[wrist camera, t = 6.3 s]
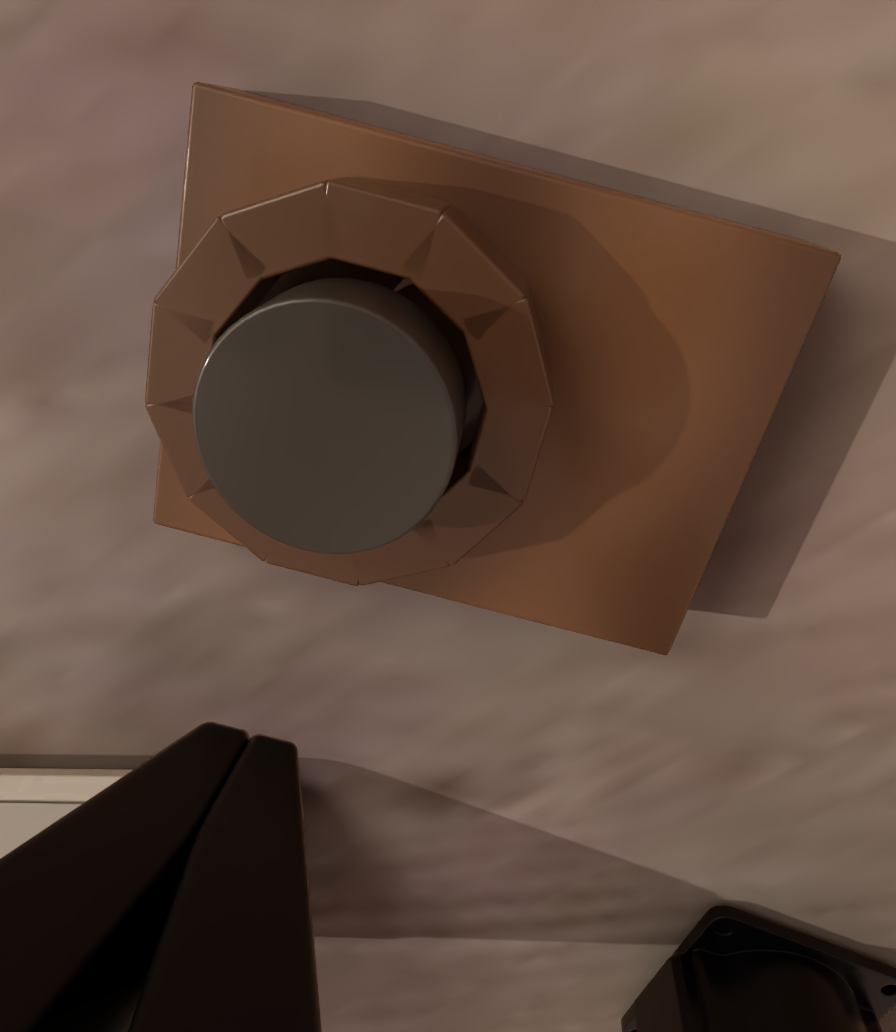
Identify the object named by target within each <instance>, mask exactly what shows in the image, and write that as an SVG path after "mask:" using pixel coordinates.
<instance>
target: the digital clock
mask: <svg viewBox="0 0 896 1032" xmlns="http://www.w3.org/2000/svg"><path fill="white" fill-rule="evenodd" d="M131 771H132V770H122V769H39V768H0V858H2V857H3V856H5V855H6V854H8V853H9V852H11V851H12V850H14V849H15V848H17V847H18V846H20V845H21V844H23V843H24V842H26V841H27V840H29V839H30V838H32V837H33V836H35V835H36V834H38V833H39V832H41V831H42V830H44V829H45V828H47V827H48V826H50V825H51V824H53V823H54V822H56V821H57V820H59V819H60V818H62V817H63V816H65V815H66V814H68V813H69V812H71V811H72V810H74V809H75V808H77V807H78V806H80V805H81V804H83V803H84V802H86V801H87V800H89V799H90V798H92V797H93V796H95V795H96V794H98V793H99V792H101V791H102V790H104V789H105V788H107V787H108V786H110V785H111V784H113V783H114V782H116V781H117V780H119V779H120V778H122V777H123V776H125V775H126V774H128V773H129V772H131ZM302 808H303V804H302ZM303 816H304V812H303Z"/></svg>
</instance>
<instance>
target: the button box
mask: <svg viewBox="0 0 896 1032" xmlns="http://www.w3.org/2000/svg"><path fill="white" fill-rule="evenodd" d="M840 258H841V255H840V254H838V253H837V252H834V251H831V250H828V249H826V248H823V247H820V246H817V245H814V244H812V243H809V242H806V241H803V240H799V239H796V238H792V237H788V236H785V235H781V234H777V233H773V232H770V231H766V230H762V229H758V228H755V227H751V226H747V225H743V224H740V223H736V222H732V221H728V220H725V219H721V218H717V217H713V216H710V215H706V214H702V213H698V212H695V211H691V210H687V209H683V208H680V207H676V206H672V205H668V204H665V203H661V202H657V201H653V200H650V199H646V198H642V197H638V196H635V195H631V194H627V193H623V192H620V191H616V190H612V189H609V188H605V187H601V186H597V185H594V184H590V183H586V182H582V181H579V180H575V179H571V178H567V177H564V176H560V175H556V174H552V173H549V172H545V171H541V170H537V169H534V168H530V167H526V166H522V165H519V164H515V163H511V162H507V161H504V160H500V159H496V158H492V157H489V156H485V155H481V154H477V153H474V152H470V151H466V150H462V149H459V148H455V147H451V146H448V145H444V144H440V143H436V142H433V141H429V140H425V139H421V138H418V137H414V136H410V135H406V134H403V133H399V132H395V131H391V130H388V129H384V128H380V127H376V126H373V125H369V124H365V123H361V122H358V121H354V120H350V119H346V118H343V117H339V116H335V115H331V114H328V113H324V112H320V111H316V110H313V109H309V108H305V107H301V106H298V105H294V104H290V103H286V102H283V101H279V100H275V99H272V98H268V97H264V96H260V95H257V94H253V93H249V92H245V91H242V90H238V89H233V88H228V87H222V86H217V85H211V84H206V83H200V82H196V83H194V84H193V86H192V96H191V107H190V118H189V129H188V140H187V151H186V162H185V173H184V185H183V196H182V207H181V218H180V229H179V240H178V251H177V262H176V270H175V272H174V273H173V274H172V276H171V277H170V278H169V280H168V281H167V282H166V283H165V285H164V286H163V287H162V289H161V290H160V291H159V293H158V294H157V295H156V297H155V299H154V303H153V309H152V321H151V334H150V346H149V359H148V371H147V384H146V396H145V402H146V409H147V411H148V413H149V416H150V418H151V420H152V422H153V424H154V427H155V429H156V431H157V433H158V435H159V438H160V450H159V461H158V472H157V483H156V494H155V505H154V516H153V521H154V523H155V524H159V525H163V526H167V527H170V528H174V529H178V530H182V531H186V532H190V533H194V534H198V535H201V536H205V537H209V538H213V539H217V540H221V541H225V542H229V543H232V544H236V545H240V546H244V547H246V548H248V549H249V550H250V551H251V552H252V553H254V554H255V555H256V556H257V557H258V558H260V559H261V560H262V561H265V560H266V562H267V563H269V564H273V565H277V566H281V567H285V568H289V569H292V570H296V571H300V572H304V573H308V574H312V575H316V576H320V577H323V578H327V579H331V580H335V581H339V582H343V583H347V584H351V585H355V586H358V585H359V584H360V585H366V584H371V583H376V582H384V583H387V584H391V585H395V586H399V587H403V588H407V589H411V590H415V591H418V592H422V593H426V594H430V595H434V596H438V597H442V598H446V599H450V600H453V601H457V602H461V603H465V604H469V605H473V606H477V607H481V608H484V609H488V610H492V611H496V612H500V613H504V614H508V615H512V616H515V617H519V618H523V619H527V620H531V621H535V622H539V623H543V624H546V625H550V626H554V627H558V628H562V629H566V630H570V631H574V632H577V633H581V634H585V635H589V636H593V637H597V638H601V639H605V640H608V641H612V642H616V643H620V644H624V645H628V646H632V647H636V648H639V649H643V650H647V651H651V652H655V653H659V654H663V655H667V654H668V653H669V651H670V649H671V647H672V644H673V642H674V640H675V637H676V635H677V633H678V631H679V628H680V626H681V624H682V621H683V619H684V617H685V614H686V612H687V610H688V608H689V605H690V603H691V601H692V598H693V596H694V594H695V592H696V589H697V587H698V585H699V582H700V580H701V578H702V576H703V573H704V571H705V569H706V566H707V564H708V562H709V559H710V557H711V555H712V553H713V550H714V548H715V546H716V543H717V541H718V539H719V537H720V534H721V532H722V530H723V527H724V525H725V523H726V521H727V518H728V516H729V514H730V511H731V509H732V507H733V504H734V502H735V500H736V498H737V495H738V493H739V491H740V488H741V486H742V484H743V482H744V479H745V477H746V475H747V472H748V470H749V468H750V466H751V463H752V461H753V459H754V456H755V454H756V452H757V449H758V447H759V445H760V443H761V440H762V438H763V436H764V433H765V431H766V429H767V427H768V424H769V422H770V420H771V417H772V415H773V413H774V411H775V408H776V406H777V404H778V401H779V399H780V397H781V394H782V392H783V390H784V388H785V385H786V383H787V381H788V378H789V376H790V374H791V372H792V369H793V367H794V365H795V362H796V360H797V358H798V356H799V353H800V351H801V349H802V346H803V344H804V342H805V339H806V337H807V335H808V333H809V330H810V328H811V326H812V323H813V321H814V319H815V317H816V314H817V312H818V310H819V307H820V305H821V303H822V301H823V298H824V296H825V294H826V291H827V289H828V287H829V284H830V282H831V280H832V278H833V275H834V273H835V271H836V268H837V266H838V264H839V262H840ZM326 278H354V279H359V280H364V281H370V282H373V283H376V284H379V285H382V286H385V287H387V288H389V289H391V290H393V291H395V292H398V293H400V294H402V295H403V296H405V297H406V298H408V299H409V300H411V301H412V302H414V303H415V304H416V305H418V306H419V307H420V308H421V309H422V310H423V311H425V312H426V313H427V314H428V315H429V316H430V317H431V318H432V319H433V320H434V322H435V323H436V324H437V325H438V326H439V327H440V329H441V330H442V331H443V333H444V334H445V336H446V337H447V339H448V340H449V342H450V344H451V346H452V348H453V350H454V352H455V353H456V355H457V358H458V361H459V364H460V366H461V369H462V373H463V378H464V382H465V388H466V400H467V403H466V418H465V423H464V428H463V433H462V437H461V442H460V446H459V450H458V454H457V458H456V463H455V467H454V470H453V473H452V476H451V479H450V482H449V484H448V486H447V488H446V490H445V492H444V494H443V496H442V498H441V499H440V501H439V502H438V504H437V505H436V506H435V508H434V509H433V511H432V512H431V513H430V514H429V515H428V516H427V517H426V518H425V519H424V520H423V521H422V522H421V523H420V524H419V525H418V526H416V527H415V528H414V529H413V530H411V531H410V532H409V533H407V534H405V535H404V536H402V537H400V538H399V539H397V540H395V541H393V542H390V543H388V544H386V545H384V546H381V547H378V548H374V549H371V550H367V551H363V552H356V553H350V554H326V553H316V552H311V551H306V550H301V549H298V548H295V547H292V546H289V545H286V544H283V543H281V542H279V541H277V540H275V539H272V538H270V537H269V536H267V535H265V534H264V533H262V532H260V531H258V530H257V529H255V528H254V527H253V526H251V525H250V524H249V523H247V522H246V521H245V520H243V519H242V518H241V517H240V516H239V515H238V514H237V513H236V512H235V511H234V510H233V509H232V508H231V507H230V506H229V505H228V504H227V503H226V501H225V500H224V499H223V498H222V497H221V496H220V494H219V493H218V491H217V490H216V488H215V487H214V485H213V484H212V482H211V481H210V479H209V477H208V475H207V473H206V471H205V469H204V467H203V464H202V462H201V459H200V456H199V454H198V451H197V447H196V442H195V438H194V433H193V422H192V401H193V394H194V389H195V383H196V380H197V377H198V374H199V371H200V368H201V366H202V364H203V362H204V360H205V358H206V356H207V354H208V352H209V351H210V349H211V348H212V346H213V345H214V344H215V342H216V341H217V339H218V338H219V337H220V336H221V335H222V334H223V333H224V332H225V331H226V330H227V329H228V328H229V327H230V326H231V325H232V324H234V323H235V322H236V321H238V320H239V319H240V318H241V317H243V316H244V315H246V314H248V313H249V312H251V311H253V310H254V309H256V308H258V307H259V306H261V305H263V304H264V303H266V302H268V301H269V300H271V299H273V298H274V297H276V296H278V295H279V294H281V293H283V292H285V291H286V290H288V289H290V288H292V287H295V286H298V285H300V284H303V283H305V282H310V281H314V280H319V279H326Z"/></svg>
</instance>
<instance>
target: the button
mask: <svg viewBox="0 0 896 1032" xmlns="http://www.w3.org/2000/svg"><path fill="white" fill-rule="evenodd" d="M466 403H467V400H466V388H465V382H464V378H463V373H462V369H461V366H460V364H459V361H458V358H457V355H456V353H455V352H454V350H453V348H452V346H451V344H450V342H449V340H448V339H447V337H446V336H445V334H444V333H443V331H442V330H441V329H440V327H439V326H438V325H437V324H436V323H435V322H434V320H433V319H432V318H431V317H430V316H429V315H428V314H427V313H426V312H425V311H423V310H422V309H421V308H420V307H419V306H418V305H416V304H415V303H414V302H412V301H411V300H409V299H408V298H406V297H405V296H403V295H402V294H400V293H398V292H395V291H393V290H391V289H389V288H387V287H385V286H382V285H379V284H376V283H373V282H370V281H364V280H359V279H354V278H326V279H319V280H314V281H310V282H305V283H303V284H300V285H298V286H295V287H292V288H290V289H288V290H286V291H285V292H283V293H281V294H279V295H278V296H276V297H274V298H273V299H271V300H269V301H268V302H266V303H264V304H263V305H261V306H259V307H258V308H256V309H254V310H253V311H251V312H249V313H248V314H246V315H244V316H243V317H241V318H240V319H239V320H238V321H236V322H235V323H234V324H232V325H231V326H230V327H229V328H228V329H227V330H226V331H225V332H224V333H223V334H222V335H221V336H220V337H219V338H218V339H217V341H216V342H215V344H214V345H213V346H212V348H211V349H210V351H209V352H208V354H207V356H206V358H205V360H204V362H203V364H202V366H201V368H200V371H199V374H198V377H197V380H196V383H195V389H194V394H193V401H192V422H193V433H194V438H195V442H196V447H197V451H198V454H199V456H200V459H201V462H202V464H203V467H204V469H205V471H206V473H207V475H208V477H209V479H210V481H211V482H212V484H213V485H214V487H215V488H216V490H217V491H218V493H219V494H220V496H221V497H222V498H223V499H224V500H225V501H226V503H227V504H228V505H229V506H230V507H231V508H232V509H233V510H234V511H235V512H236V513H237V514H238V515H239V516H240V517H241V518H242V519H243V520H245V521H246V522H247V523H249V524H250V525H251V526H253V527H254V528H255V529H257V530H258V531H260V532H262V533H264V534H265V535H267V536H269V537H270V538H272V539H275V540H277V541H279V542H281V543H283V544H286V545H289V546H292V547H295V548H298V549H301V550H306V551H311V552H316V553H326V554H350V553H356V552H363V551H367V550H371V549H374V548H378V547H381V546H384V545H386V544H388V543H390V542H393V541H395V540H397V539H399V538H400V537H402V536H404V535H405V534H407V533H409V532H410V531H411V530H413V529H414V528H415V527H416V526H418V525H419V524H420V523H421V522H422V521H423V520H424V519H425V518H426V517H427V516H428V515H429V514H430V513H431V512H432V511H433V509H434V508H435V506H436V505H437V504H438V502H439V501H440V499H441V498H442V496H443V494H444V492H445V490H446V488H447V486H448V484H449V482H450V479H451V476H452V473H453V470H454V467H455V463H456V458H457V454H458V450H459V446H460V442H461V437H462V433H463V428H464V423H465V418H466Z"/></svg>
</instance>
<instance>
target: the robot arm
mask: <svg viewBox="0 0 896 1032" xmlns="http://www.w3.org/2000/svg"><path fill="white" fill-rule="evenodd" d="M895 1004H896V969H895V968H893V967H891V966H888V965H885V964H882V963H880V962H877V961H874V960H872V959H869V958H866V957H864V956H861V955H858V954H856V953H853V952H850V951H847V950H845V949H842V948H839V947H837V946H834V945H831V944H829V943H826V942H823V941H821V940H818V939H815V938H813V937H810V936H807V935H804V934H802V933H799V932H796V931H794V930H791V929H788V928H786V927H783V926H780V925H778V924H775V923H772V922H769V921H767V920H764V919H761V918H759V917H756V916H753V915H751V914H748V913H745V912H743V911H740V910H737V909H734V908H732V907H728V906H716V907H713V908H711V909H710V910H708V911H707V912H706V914H705V915H704V916H703V917H702V919H701V920H700V921H699V922H698V924H697V925H696V926H695V927H694V929H693V930H692V931H691V932H690V934H689V935H688V936H687V937H686V939H685V940H684V941H683V942H682V944H681V945H680V946H679V947H678V949H677V950H676V951H675V952H674V954H673V955H672V956H671V957H670V958H669V959H668V960H667V961H666V963H665V964H664V965H663V966H662V968H661V969H660V970H659V971H658V973H657V974H656V975H655V976H654V978H653V979H652V980H651V981H650V983H649V984H648V985H647V986H646V988H645V989H644V990H643V991H642V993H641V994H640V995H639V996H638V998H637V999H636V1000H635V1002H634V1003H633V1005H632V1006H631V1007H630V1008H629V1010H628V1011H627V1012H626V1013H625V1015H624V1016H623V1017H622V1020H621V1025H622V1032H882V1030H881V1027H880V1025H879V1022H878V1021H879V1020H880V1019H881V1018H882V1017H883V1016H884V1015H885V1014H886V1013H887V1012H888V1011H889V1010H890V1009H891V1008H892V1007H893V1006H894V1005H895ZM0 1032H322V1031H321V1020H320V1008H319V996H318V984H317V972H316V961H315V949H314V937H313V925H312V914H311V902H310V890H309V878H308V866H307V855H306V843H305V831H304V819H303V808H302V796H301V784H300V772H299V760H298V750H297V748H296V746H295V744H294V743H292V742H289V741H285V740H281V739H277V738H273V737H269V736H265V735H261V734H257V735H254V736H252V737H251V738H250V736H249V734H248V733H247V732H246V731H245V730H242V729H238V728H234V727H230V726H226V725H222V724H218V723H214V722H207V723H203V724H201V725H199V726H198V727H196V728H195V729H193V730H192V731H190V732H189V733H187V734H186V735H184V736H183V737H181V738H180V739H178V740H177V741H175V742H174V743H172V744H171V745H169V746H168V747H166V748H165V749H163V750H162V751H160V752H159V753H157V754H156V755H154V756H153V757H151V758H150V759H149V760H147V761H146V762H144V763H143V764H141V765H140V766H138V767H137V768H135V769H134V770H132V771H131V772H129V773H128V774H126V775H125V776H123V777H122V778H120V779H119V780H117V781H116V782H114V783H113V784H111V785H110V786H108V787H107V788H105V789H104V790H102V791H101V792H99V793H98V794H96V795H95V796H93V797H92V798H90V799H89V800H87V801H86V802H84V803H83V804H81V805H80V806H78V807H77V808H75V809H74V810H72V811H71V812H69V813H68V814H66V815H65V816H63V817H62V818H60V819H59V820H57V821H56V822H54V823H53V824H51V825H50V826H48V827H47V828H45V829H44V830H42V831H41V832H39V833H38V834H36V835H35V836H33V837H32V838H30V839H29V840H27V841H26V842H24V843H23V844H21V845H20V846H18V847H17V848H15V849H14V850H12V851H11V852H9V853H8V854H6V855H5V856H3V857H2V858H0Z"/></svg>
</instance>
